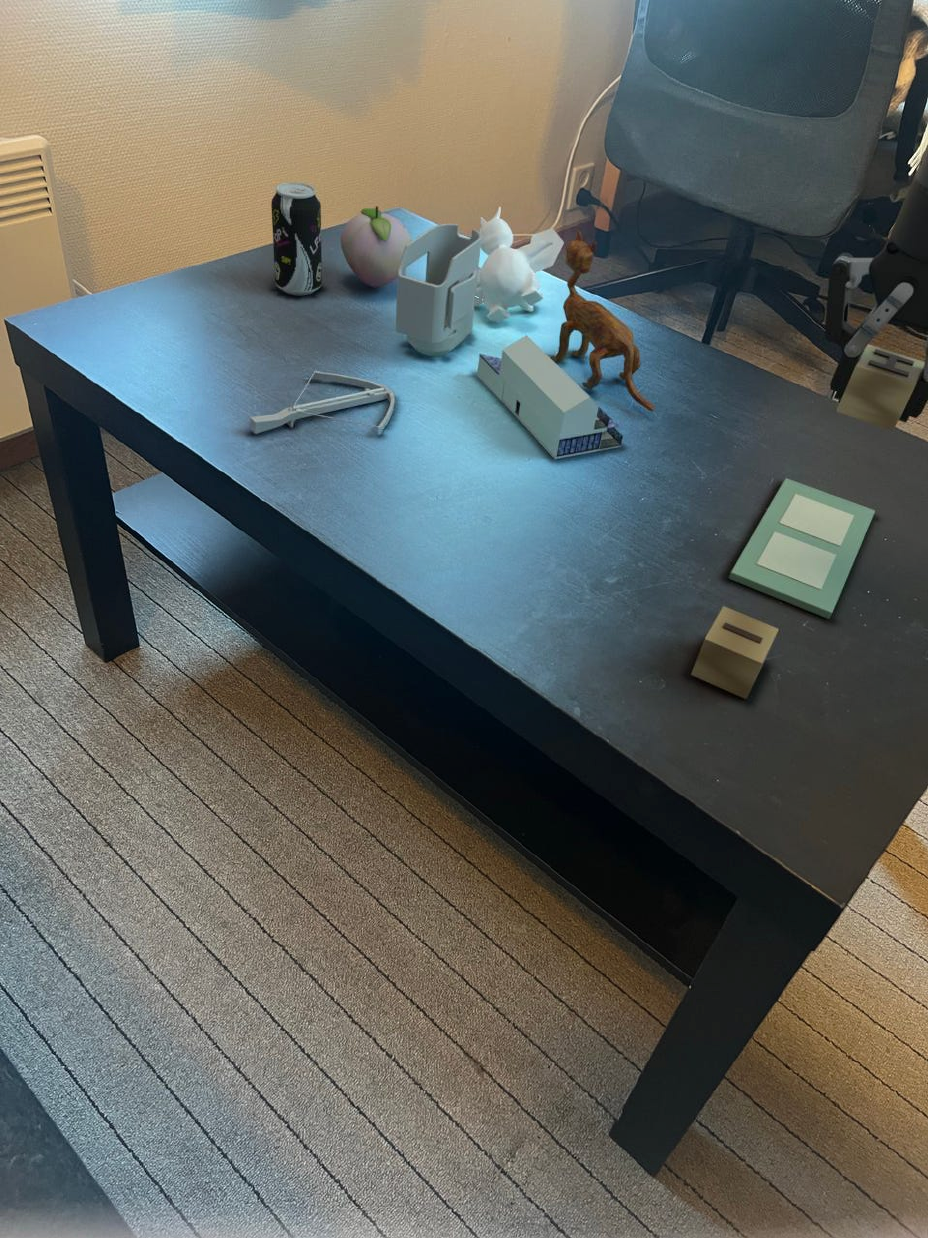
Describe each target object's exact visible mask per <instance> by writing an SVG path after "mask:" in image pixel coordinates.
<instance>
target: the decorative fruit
mask: <svg viewBox="0 0 928 1238" xmlns="http://www.w3.org/2000/svg"><path fill="white" fill-rule="evenodd" d="M411 241H412V237H411V235H410V232H409V231H408V229H407V228H406V226H405V225H404V224H403V223H402V222H401V221H400V220H399V219H397V218H396V217H394V216H393V215H390V214H387V213H384V212H382V211H381V210H379V206H378V205H375V208H373V207H370V208H368V207H364V208H362V209H361V210H360V213H359V214H357V215H355V216H354V217H352V218H351V219H349V220H348V221H347V223H346V224H345V225H344V227H343V230H342V232H341V234H340V246H341V250H342V254H343V256H344V258H345V262H346V263H347V265H348V267H349V268H350V270H351V271H352V272H353V273H354V275H355V276H356V277H357V278H359V279H360V280H361V281H362V282H363V283H364V284H365V285H367V286H369V287H371V288H373V289H376V288H380V287H384V286H387V285H390V284H392V283H394V282H395V281H397V280H398V269H399V265H400V262H401V258H402V255H403V252H404V248H405V245H406V244H408V243H409V242H411Z"/></svg>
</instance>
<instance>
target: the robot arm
mask: <svg viewBox="0 0 928 1238" xmlns="http://www.w3.org/2000/svg"><path fill="white" fill-rule="evenodd" d="M828 273H829V274H828V288H827V299H826V313H825V324H824V338H825V340H826V341H827V342H829V343H835V344H836V345H837V346H838V347H839V348H840V349H841V356H840V359H839V361H838V363H837V366H836V369H835V371H834V373H833V376H832V378H831V380H830V383H829V385H830V387H829V390H830V391H833V392H835V393H834V396H833V399H834V400H838V401H839V402H840V401H841V399H842V396H843V394H844V392H845V390H846V387H847V385H848V383H849V380H850V378H851V376H852V373H853V371H854V369H855V367H856V365H857V363H858V361H859V359H860V357H861V355H862V353H863V351H864V350H865V348H866V346H867V345H868V344H869V345H870V342H871V341H873V339H874V338H875V337H876V336H877V335H878V334H879V333H880V332H881V331H882V330H883V329H884V327H885V326H886V325H887V324H889V325H892V326H895V327H907V328H910V329H911V330H913V331H915V332H916V333H918V334H922V335H924V336H926V343H925V344H926V345H925V359H924V362H925V364H924V366H923V369H922V371H921V373H920V376H919V378H918V381H917V383H916V386H915V388H914V390H913V392H912V394H911V396H910V398H909V400H908V402H907V404H906V406H905V408H904V410H903V412H902V414H901V416H900V418H899V420H898V422H901V423H905V424H906V423H907V422H908V421H909V418H910V417H911V418H914V419H917V418H918V417H920V416H921V414H922V413H923V411H924V409H925V407H926V405H927V403H928V144H927V145H926V147H925V150H924V151H923V153H922V155H921V158H920V161H919V164H918V167H917V168H916V171H915V173H914V176H913V179H912V181H911V183H910V186H909V188H908V190H907V193H906V195H905V198H904V200H903V203H902V205H901V207H900V209H899V212H898V215H897V216H896V219H895V222H894V224H893V227H892V228H891V231H890V234H889V237H888V239H887V240H886V243H885V245H884V246H883V248H881V249H880V250H879V251H878V252H877V253H876V254H875V255H874V256H873V257H854V256H853V254H851V253H849V252H843V253H841V254H839V255H838V257H837V258H836V259H835V260H834V262H833V263H832V265H831V267H829V272H828ZM867 275H869V279H870V283H871V286H872V290H873V293H874V298H875V302H876V305H874V307H873V308H872V309H871V311H870V312H869V313H868V315H867V316H866V317H865V318H864V320H863V321H862V322H861V323H860V325H859V326H857V328H855V327H854V326H853V325H851V324H850V323H849V315H850V303H851V294H852V290H855V289H857V287H859V285H860V283H861V282H862V278H863V277H864V276H867Z"/></svg>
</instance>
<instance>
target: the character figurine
mask: <svg viewBox="0 0 928 1238" xmlns="http://www.w3.org/2000/svg"><path fill="white" fill-rule="evenodd" d="M501 211H502V207H501V206H499V207H498V209H497V211H496V213H495V215H493V217H492V218H491V219H490V220H488V221H486V220H485V219H484V218H483V217H482V216H481V217H480V218H479V219H480V221H479V222H480V229H479V230H478V232H479V233H480V234H481V236H482V239H481V248H480V250H481V251H482V252H483V253H484V254H485V255H487V257H486V259H485V260H484V262H483V264H482V265H481V267H478V276H477V286H476V295H475V296H477V297H479V298H477V297H475V305H474V307H479V306H480V305H482V304H483V305H484V307H485V308H486V309H487V310H488V311H489V313H488V314H487V315H486V317H487V318H488V319H489V320H490V321H492V322H494V323H495V324H498V323H501V322H503V321H505V320H507V319H509V318H511V314H510V312H509V311H508V310H509V309H510V308H511V309H513V308H515V307H520V308H521V309H523V310H524V311H527V312H529V313H532V312H533V311H534V305H535V304H537V303H539V302H541V301H543V299H544V295H543V294H542V293H540V289H541V283H540V280H539V279H538V277H537V275H536V273H538V272H541V271H543V270H546V269H548V268H551V267H553V266H554V264H555V262H556V260H557V258H558V256H559V254H560V252H561V250H562V248H563V246H564V244H565V242H564V241H563V239H562V238H561V236H560V235H559V234H558V233H557V232H556V230H555V228H553V227H551V228H548V229H545V230H542V231H540V232H536V233H533V234H532V235H531V237H530V238H531V239H530V242H529V243H528V244H525V245H523V246H520V247H519V248H512V245H513V243H514V234H513V232H512V230H511V227H510V226H509V224H508V223H507V222H506V221H505V220H504V219H502V218H500V217H501ZM482 299H483V300H482Z"/></svg>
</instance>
